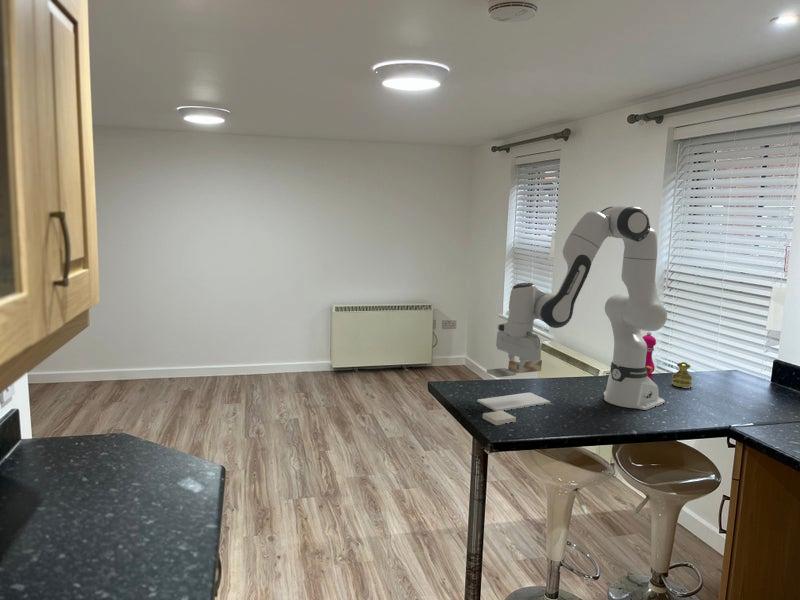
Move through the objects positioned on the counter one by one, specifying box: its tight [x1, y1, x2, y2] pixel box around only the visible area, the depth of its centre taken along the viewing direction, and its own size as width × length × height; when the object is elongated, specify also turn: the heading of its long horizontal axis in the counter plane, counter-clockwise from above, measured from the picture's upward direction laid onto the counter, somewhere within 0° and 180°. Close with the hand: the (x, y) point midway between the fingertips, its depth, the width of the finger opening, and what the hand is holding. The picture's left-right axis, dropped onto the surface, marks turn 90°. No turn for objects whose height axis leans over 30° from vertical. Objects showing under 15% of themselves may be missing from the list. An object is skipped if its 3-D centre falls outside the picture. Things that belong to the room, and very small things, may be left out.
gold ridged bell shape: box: [671, 361, 693, 388], centre depth 239 cm, size 7×7×10 cm
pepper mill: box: [642, 331, 657, 380], centre depth 248 cm, size 7×7×20 cm
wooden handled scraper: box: [486, 359, 543, 378], centre depth 206 cm, size 21×6×4 cm, turn 118°
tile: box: [482, 411, 517, 426], centre depth 190 cm, size 2×7×8 cm
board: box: [476, 392, 551, 412], centre depth 208 cm, size 24×11×1 cm, turn 118°
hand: (516, 368), depth 206 cm, fingers closed on wooden handled scraper, 2 cm apart
